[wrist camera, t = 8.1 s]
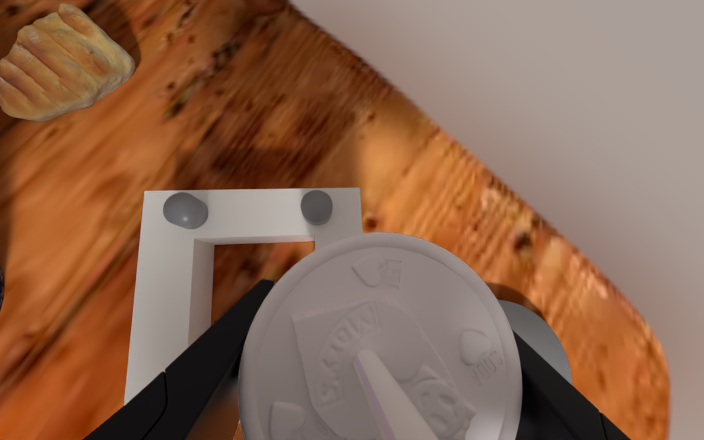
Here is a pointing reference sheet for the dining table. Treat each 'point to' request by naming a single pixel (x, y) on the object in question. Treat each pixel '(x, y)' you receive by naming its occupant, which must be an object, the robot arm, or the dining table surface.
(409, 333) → the smoothie
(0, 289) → the storage jar
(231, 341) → the robot arm
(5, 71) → the pastry
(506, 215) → the dining table surface
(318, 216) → the holder
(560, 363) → the coaster
